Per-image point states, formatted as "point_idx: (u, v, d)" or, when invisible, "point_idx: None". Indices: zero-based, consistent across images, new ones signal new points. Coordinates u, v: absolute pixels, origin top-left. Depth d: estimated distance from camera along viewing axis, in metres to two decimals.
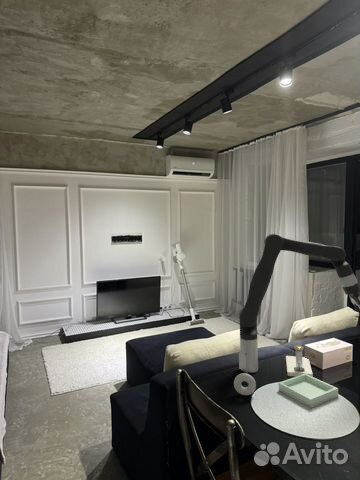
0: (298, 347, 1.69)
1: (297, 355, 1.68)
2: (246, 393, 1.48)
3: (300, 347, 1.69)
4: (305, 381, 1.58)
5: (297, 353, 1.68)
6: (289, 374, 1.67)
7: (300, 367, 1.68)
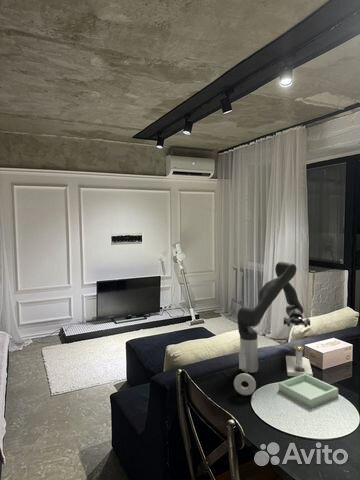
0: (298, 347, 1.69)
1: (297, 355, 1.68)
2: (246, 393, 1.48)
3: (300, 347, 1.69)
4: (305, 381, 1.58)
5: (297, 353, 1.68)
6: (289, 374, 1.67)
7: (300, 367, 1.68)
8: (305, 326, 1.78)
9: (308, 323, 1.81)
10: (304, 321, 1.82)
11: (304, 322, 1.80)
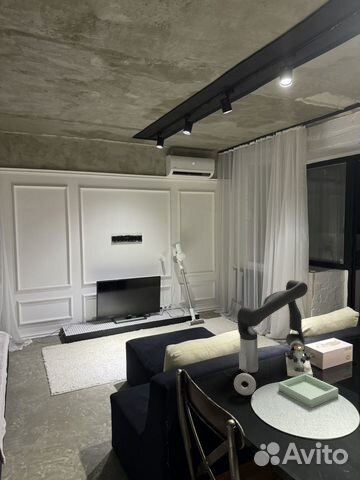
0: (298, 347, 1.69)
1: (297, 355, 1.68)
2: (246, 393, 1.48)
3: (300, 347, 1.69)
4: (305, 381, 1.58)
5: (297, 353, 1.68)
6: (289, 374, 1.67)
7: (300, 367, 1.68)
8: (303, 362, 1.66)
9: None
10: (302, 356, 1.70)
11: (302, 357, 1.68)
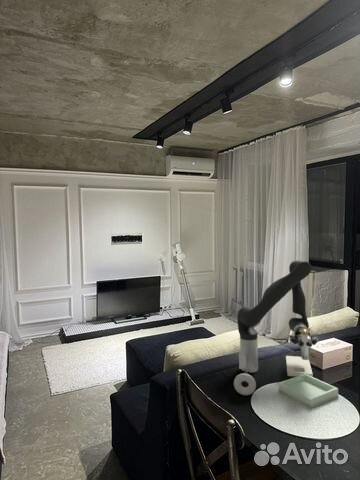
0: (304, 330, 1.54)
1: (303, 338, 1.53)
2: (246, 393, 1.48)
3: (306, 330, 1.54)
4: (305, 381, 1.58)
5: (303, 336, 1.53)
6: (289, 374, 1.67)
7: (306, 351, 1.53)
8: (309, 346, 1.51)
9: None
10: (308, 340, 1.55)
11: (308, 341, 1.54)
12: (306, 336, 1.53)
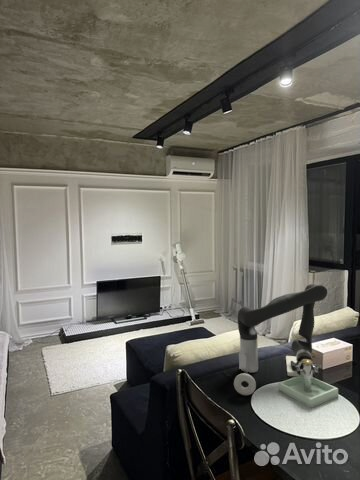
0: (306, 361, 1.48)
1: (305, 370, 1.48)
2: (246, 393, 1.48)
3: (309, 361, 1.48)
4: None
5: (305, 368, 1.48)
6: (289, 374, 1.67)
7: (308, 384, 1.48)
8: (315, 375, 1.46)
9: (318, 370, 1.49)
10: (314, 368, 1.50)
11: (314, 369, 1.48)
12: (309, 368, 1.47)
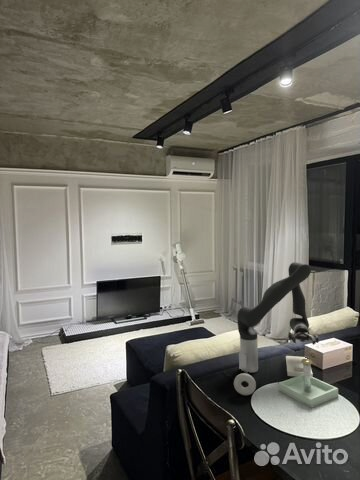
0: (306, 361, 1.49)
1: (305, 370, 1.48)
2: (246, 393, 1.48)
3: (308, 361, 1.49)
4: None
5: (305, 367, 1.48)
6: (289, 374, 1.67)
7: (308, 383, 1.48)
8: (313, 343, 1.58)
9: (316, 340, 1.62)
10: (312, 337, 1.62)
11: (312, 338, 1.61)
12: (308, 367, 1.48)
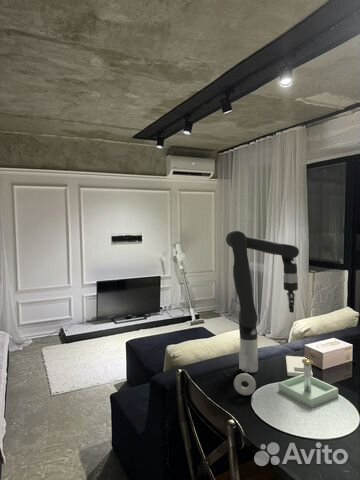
0: (307, 361, 1.48)
1: (305, 370, 1.48)
2: (246, 393, 1.48)
3: (309, 361, 1.48)
4: None
5: (305, 368, 1.48)
6: (289, 374, 1.67)
7: (309, 384, 1.48)
8: None
9: (291, 305, 1.74)
10: (289, 304, 1.77)
11: None
12: (309, 367, 1.47)
